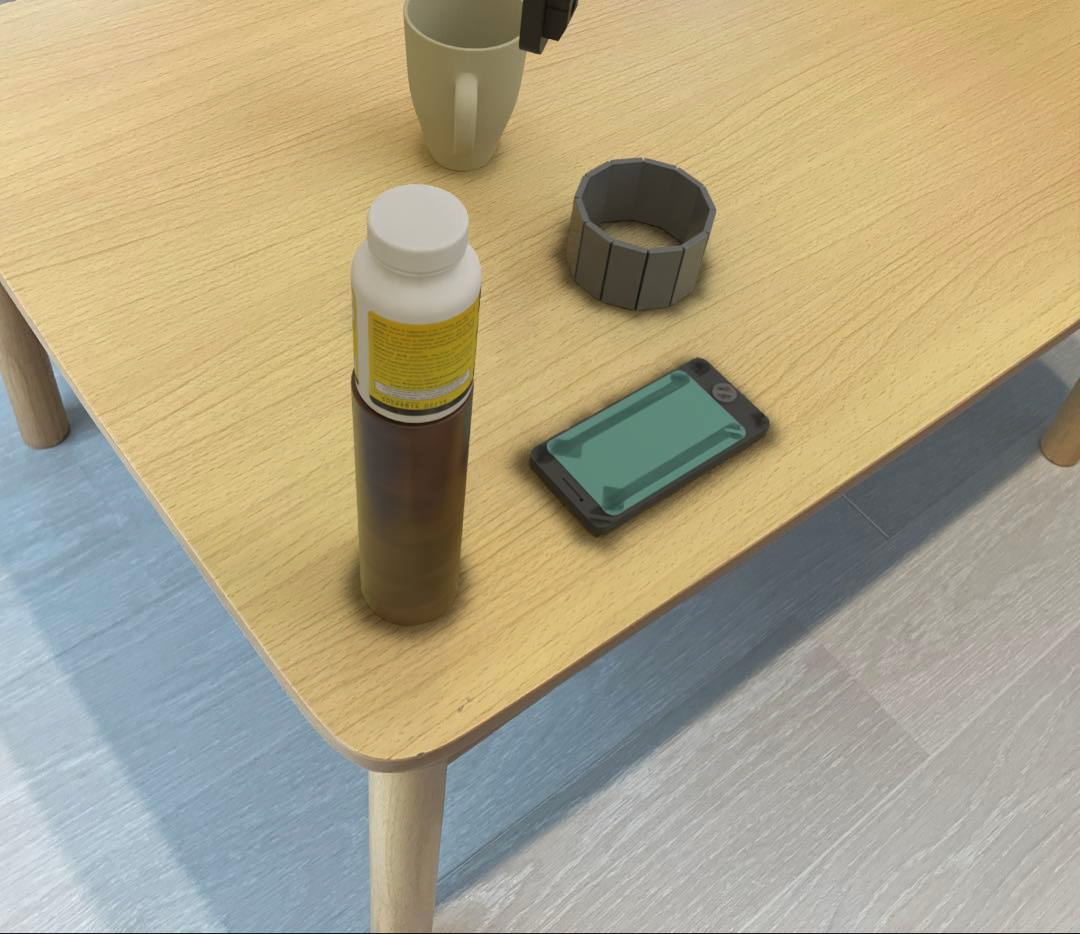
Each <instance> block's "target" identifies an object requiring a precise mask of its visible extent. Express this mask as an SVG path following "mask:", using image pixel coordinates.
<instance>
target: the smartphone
mask: <svg viewBox="0 0 1080 934" xmlns="http://www.w3.org/2000/svg"><path fill="white" fill-rule="evenodd" d="M770 423H771V421H770V419H769V418H768V416H766V415H765V413H764V412H762V411H761V410H760V409H759V408H758V407H757V406H756V405H755V404H754V403H753V402H752V401H751V400H750V399H748V398H747V397H746V395H744V394H743V393H742V392H741V391H740V390H739V389H738V388H736V387H735V385H734V384H732V383H731V382H730V381H729V380H728V379H727V377H725V376H724V375H723V374H722V373H721V372H720V371H718V369H716V368H715V367H714V365H712V364H711V363H710V361H707V359H705V358H702V357H694V358H692V359H690V360H689V361H686V362H685V363H683V364H681V365H679V366H678V367H676V368H674V369H672V370H671V371H669V372H667V373H665V374H664V375H662V376H660V377H658V378H655V379H654V380H653V381H651V382H649V383H647V384H645V385H644V386H641V387H640V388H638V389H636V390H634V391H632V392H631V393H629V394H627V395H625V396H624V397H622V398H620V399H618V400H616V401H614V402H612V403H610V404H608V405H607V406H605V407H603V408H601V409H599V410H598V411H596V412H594V413H592V415H590V416H587V417H585V418H582V420H579V421H578V422H576V423H574V424H572V425H571V426H569V427H567V428H566V429H563V430H562V431H560V432H558V433H557V434H555V435H553V436H550V437H549V438H548V439H546V440H545V441H542V442H541V443H539V444H536V445H535V446H534V447H532V449H530V456H529V461H528V465H529V468H530V469H531V470H532V471H533V472H534V473H535V474H536V476H538V478H539V479H541V481H542V482H543V483H544V484H545V486H547V488H548V489H549V490H550V491H551V492H552V493H553V494H554V495H555V496H556V498H558V500H559V501H560V502H561V503H562V504H563V505H564V506H565V507H566V509H568V511H570V512H571V513H572V515H573V516H574V517H575V518H576V519H577V520H578V521H579V522H580V523H581V525H582V526H583V527H584V528H585V529H586V530H587V531H588V532H589V534H592V535H593V536H596V537H602V536H603V537H604V536H606V535H608V534H609V533H611V532H613V531H614V530H615V529H617V528H619V527H620V526H622V525H623V524H626V523H627V522H628V521H630V520H632V519H633V518H635V517H637V516H638V515H640V514H641V513H643V512H644V511H646V510H648V509H649V508H651V507H653V506H654V505H656V504H658V503H659V502H661V501H662V500H664V499H666V498H667V497H669V496H670V495H672V494H674V493H676V492H677V491H679V490H680V489H682V488H684V487H685V486H686V485H688V484H690V483H692V482H693V481H695V480H697V479H698V478H700V477H702V476H703V475H704V474H706V473H708V472H709V471H711V470H713V469H714V468H716V467H717V466H719V465H721V464H722V463H724V462H726V461H727V460H729V459H731V458H732V457H733V456H736V455H737V454H739V453H740V452H742V451H744V450H745V449H746V448H748V447H750V446H751V445H753V444H755V443H756V442H758V441H759V440H761V439H763V438H764V437H766V435H767V432H768V431H769V427H770Z"/></svg>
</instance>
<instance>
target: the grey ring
mask: <svg viewBox="0 0 1080 934" xmlns="http://www.w3.org/2000/svg"><path fill="white" fill-rule="evenodd" d="M572 203H573V204H572V209H571V217H570V223H569V228H568V234H567V240H566V241H567V242H566V248H565V259H566V262H567V265H568V268H569V271H570V273H571V276H572V278H573V280H575V283H577V284H578V285H579V286H580V287H582V288H583V289H584V290H585V291H586V292H588V293H589V294H590V295H591V296H593V297H594V298H595V299H596V300H598V301H599V300H601V302H602V303H606V304H609V305H612V306H617V307H621V308H624V309H627V310H631V311H634V310H636V311H637V312H638V311H644V310H654V309H664V308H669V306H670V307H671V306H673V305H675V304H676V303H678V302H679V301H681V300H682V299H684V298H685V297H687V296H688V295H690V294H691V293H693V292H694V290H695V288H696V285H697V282H698V278H699V275H700V273H701V272H700V271H701V267H702V265H703V261H704V258H705V254H706V251H707V248H708V247H707V246H708V245H709V240H710V237H711V233H712V229H713V226H714V223H715V219H716V216H717V207H716V205H715V203H714V201H713V199H712V197H711V194H710V193H709V190H708V188H707V186H705V184H703V183H702V182H701V181H700V180H698V178H696V177H694V176H693V175H691V174H690V173H689V172H687V171H686V170H684V169H683V168H681V166H680V167H678V166H677V165H676V164H675V165H674V164H672V163H667V162H663V161H659V160H657V159H652V158H649V157H642V156H640V157H628V158H615V159H610V160H607V161H605V162H602V163H601V164H599V165H598V166H596V167H594V168H593V169H591V170H589V171H587V172H585V173H584V175H582V178H581V179H580V182H579V184H578V186H577V188H576V191H575V193H574V196H573V202H572ZM630 220H631V221H635V222H639V223H643V224H647V225H651V226H653V227H658V228H661V229H663V230H664V231H665V232H667V233H668V234H670V235H671V237H673V238H674V239H676V240H678V242H680V243H682V244H680V245H669V246H661V247H660V246H659V247H651V248H648V247H644V246H643V247H642V246H640V245H636V244H632V243H630V242H626V241H621V240H619V239H614V238H613V237H612V236H611V235H609V234H608V233H606V232H605V231H604V229H603V230H602V228H600V227H599V226H598V225H600V224H602V223H611V222H621V221H630Z"/></svg>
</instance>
